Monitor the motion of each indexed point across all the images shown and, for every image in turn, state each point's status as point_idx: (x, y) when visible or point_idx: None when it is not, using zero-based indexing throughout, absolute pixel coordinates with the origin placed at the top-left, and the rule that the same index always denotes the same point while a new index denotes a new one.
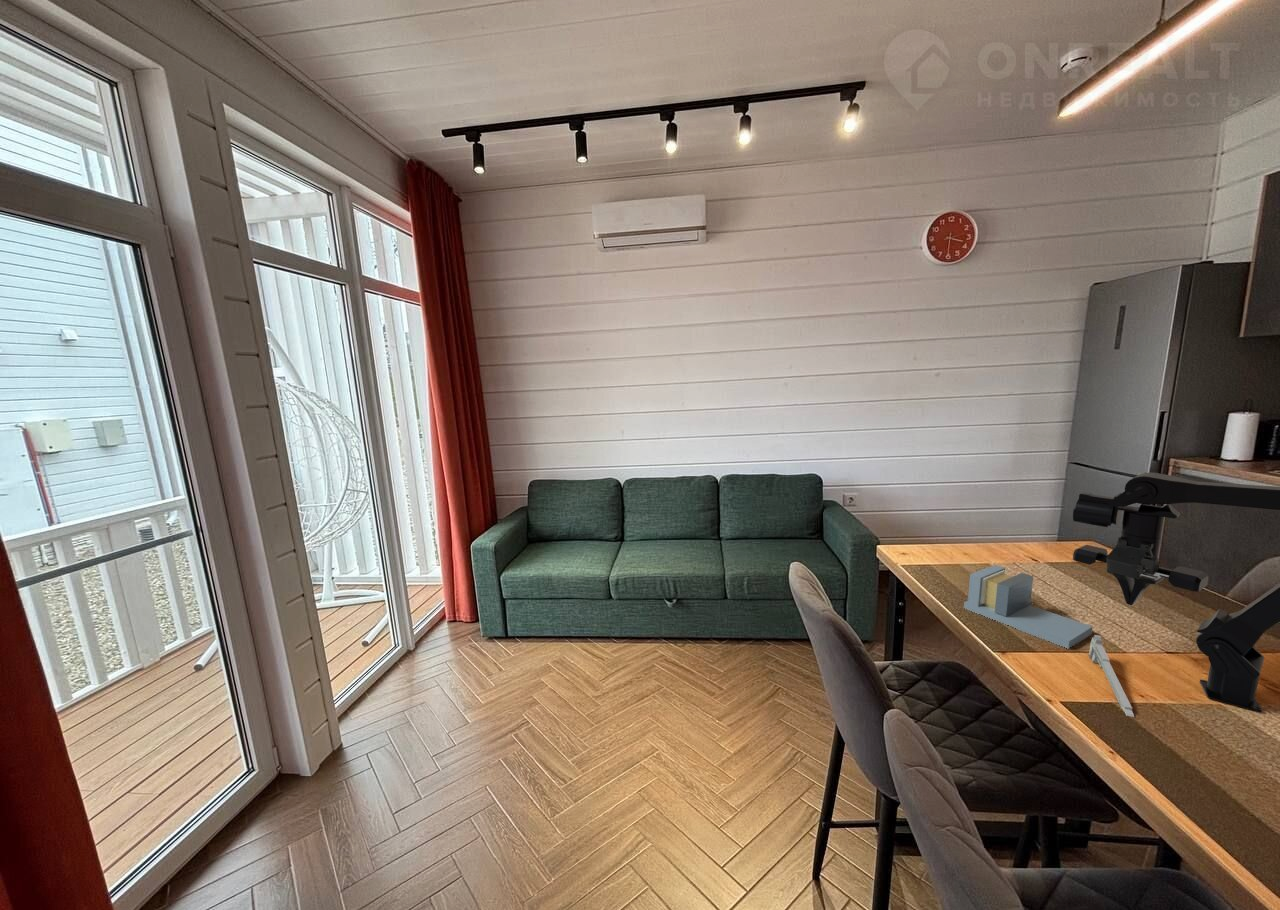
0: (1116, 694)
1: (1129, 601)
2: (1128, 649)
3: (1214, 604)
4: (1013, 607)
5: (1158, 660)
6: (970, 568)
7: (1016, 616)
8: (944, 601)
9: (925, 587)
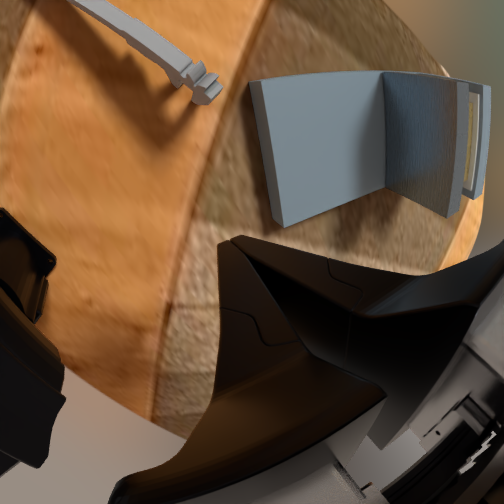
0: None
1: (237, 247)
2: (199, 237)
3: None
4: (397, 107)
5: (145, 258)
6: (447, 236)
7: (375, 97)
8: (437, 73)
9: None
